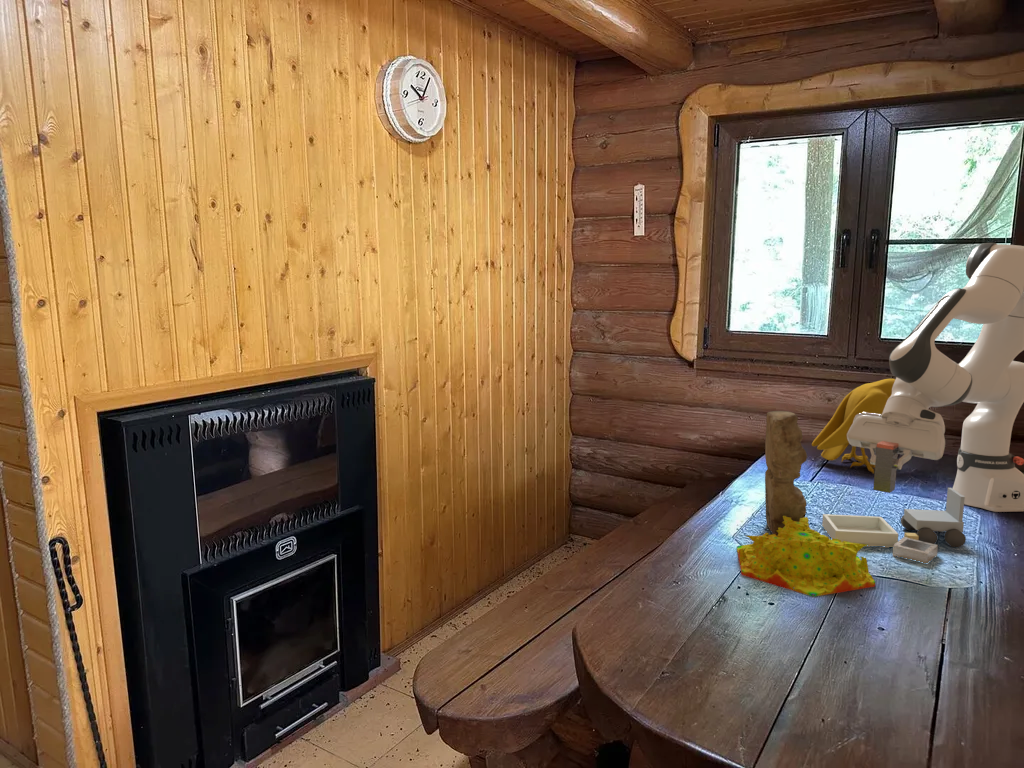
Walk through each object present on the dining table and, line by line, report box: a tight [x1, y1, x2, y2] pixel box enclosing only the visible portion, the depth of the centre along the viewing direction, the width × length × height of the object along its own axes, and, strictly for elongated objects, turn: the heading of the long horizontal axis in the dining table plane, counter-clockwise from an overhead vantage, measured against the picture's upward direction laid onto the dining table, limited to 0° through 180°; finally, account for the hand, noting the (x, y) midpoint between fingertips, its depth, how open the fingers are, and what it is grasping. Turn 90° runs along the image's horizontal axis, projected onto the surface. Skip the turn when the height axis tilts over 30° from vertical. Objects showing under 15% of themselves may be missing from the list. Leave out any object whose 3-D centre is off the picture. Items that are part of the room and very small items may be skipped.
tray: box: [821, 513, 899, 548], centre depth 169 cm, size 14×12×3 cm
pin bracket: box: [891, 536, 939, 564], centre depth 158 cm, size 7×7×2 cm
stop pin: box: [873, 441, 899, 494], centre depth 162 cm, size 4×4×11 cm
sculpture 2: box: [811, 378, 896, 475], centre depth 229 cm, size 20×27×30 cm
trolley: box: [900, 487, 967, 548], centre depth 167 cm, size 10×11×12 cm
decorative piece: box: [736, 516, 876, 597], centre depth 152 cm, size 26×8×30 cm
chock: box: [903, 532, 919, 540], centre depth 164 cm, size 2×2×2 cm
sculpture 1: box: [764, 410, 808, 536], centre depth 171 cm, size 12×9×30 cm
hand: (884, 465), depth 161 cm, fingers closed on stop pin, 3 cm apart
